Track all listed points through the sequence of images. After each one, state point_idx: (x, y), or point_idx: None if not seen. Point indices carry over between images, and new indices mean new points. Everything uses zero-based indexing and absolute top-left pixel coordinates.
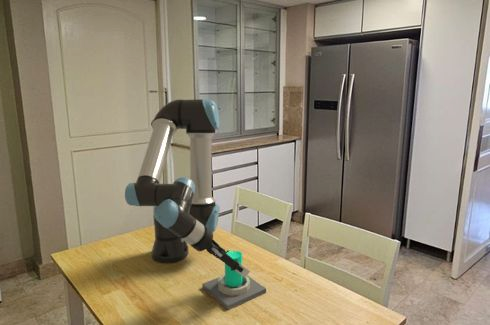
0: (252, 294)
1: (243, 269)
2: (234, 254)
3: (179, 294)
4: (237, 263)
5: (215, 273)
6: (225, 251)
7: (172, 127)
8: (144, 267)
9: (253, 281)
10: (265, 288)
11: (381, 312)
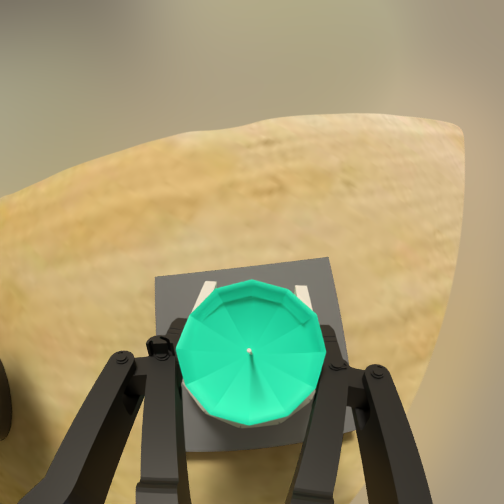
0: (341, 320)
1: (329, 327)
2: (239, 337)
3: None
4: (392, 383)
5: None
6: (169, 383)
7: None
8: (14, 478)
9: (263, 272)
10: (327, 259)
11: (447, 127)
